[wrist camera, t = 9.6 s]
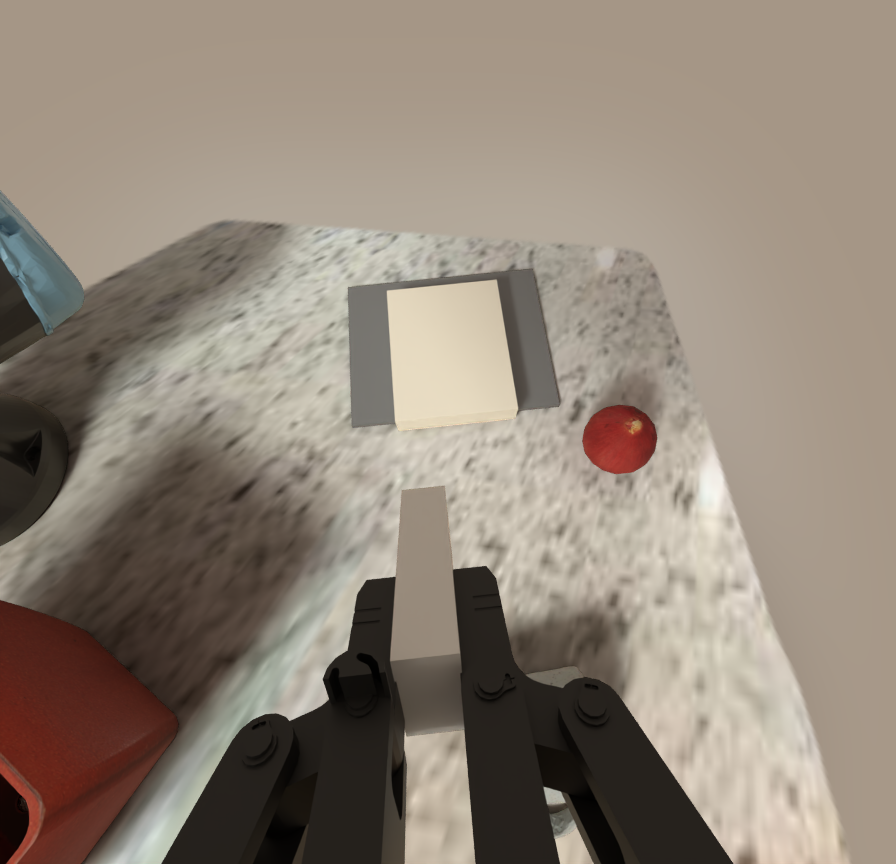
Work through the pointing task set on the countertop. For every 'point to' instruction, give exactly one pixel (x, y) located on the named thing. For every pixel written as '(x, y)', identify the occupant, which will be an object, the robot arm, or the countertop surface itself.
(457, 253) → the countertop surface
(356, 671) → the robot arm
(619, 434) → the onion
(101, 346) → the countertop surface
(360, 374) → the mat
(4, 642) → the plant pot
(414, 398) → the tile
